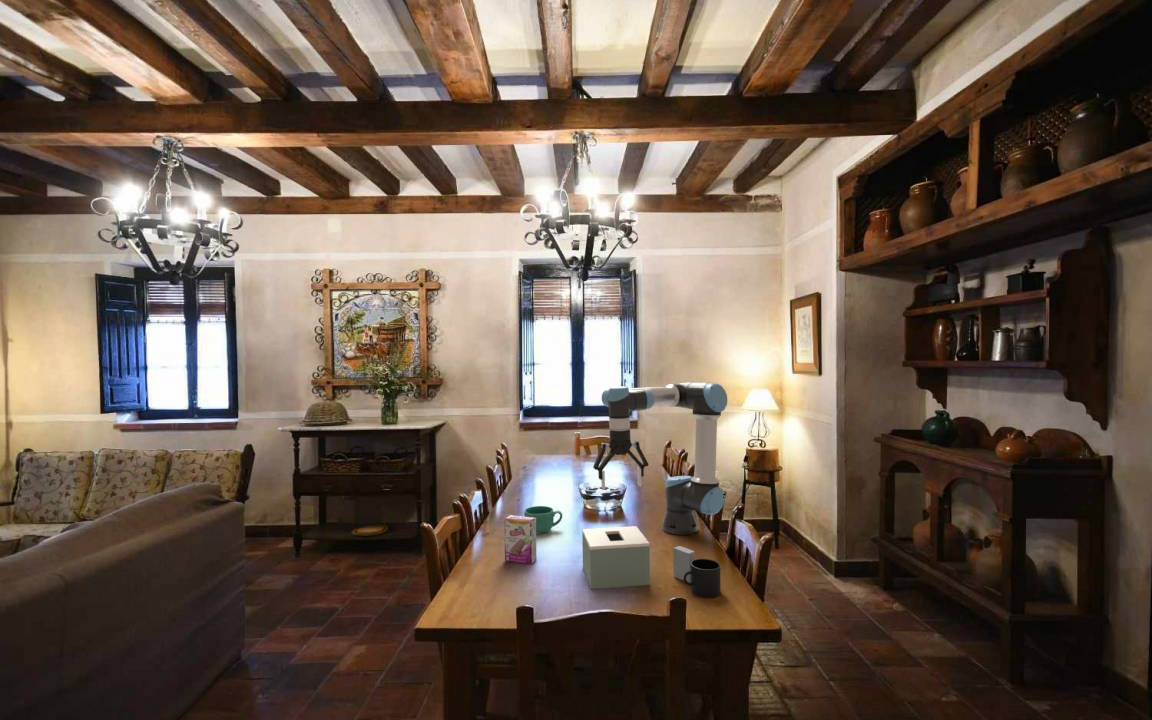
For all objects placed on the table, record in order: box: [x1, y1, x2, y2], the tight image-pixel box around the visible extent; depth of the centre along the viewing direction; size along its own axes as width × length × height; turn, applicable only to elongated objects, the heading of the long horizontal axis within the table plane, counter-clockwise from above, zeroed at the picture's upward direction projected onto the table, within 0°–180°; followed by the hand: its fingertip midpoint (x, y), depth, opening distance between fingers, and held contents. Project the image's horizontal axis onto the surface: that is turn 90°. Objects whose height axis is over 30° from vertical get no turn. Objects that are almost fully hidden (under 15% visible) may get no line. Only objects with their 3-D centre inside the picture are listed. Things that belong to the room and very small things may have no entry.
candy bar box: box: [504, 514, 537, 566], centre depth 203 cm, size 11×5×16 cm, turn 71°
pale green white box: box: [581, 525, 651, 590], centre depth 189 cm, size 20×18×14 cm
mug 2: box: [683, 558, 722, 599], centre depth 175 cm, size 9×12×9 cm
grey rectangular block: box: [673, 545, 696, 583], centre depth 186 cm, size 3×7×10 cm, turn 38°
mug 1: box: [523, 505, 563, 535], centre depth 238 cm, size 17×13×10 cm
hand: (621, 487), depth 199 cm, fingers open, 13 cm apart
